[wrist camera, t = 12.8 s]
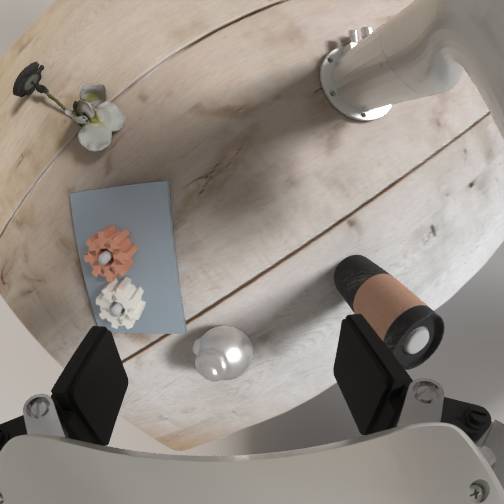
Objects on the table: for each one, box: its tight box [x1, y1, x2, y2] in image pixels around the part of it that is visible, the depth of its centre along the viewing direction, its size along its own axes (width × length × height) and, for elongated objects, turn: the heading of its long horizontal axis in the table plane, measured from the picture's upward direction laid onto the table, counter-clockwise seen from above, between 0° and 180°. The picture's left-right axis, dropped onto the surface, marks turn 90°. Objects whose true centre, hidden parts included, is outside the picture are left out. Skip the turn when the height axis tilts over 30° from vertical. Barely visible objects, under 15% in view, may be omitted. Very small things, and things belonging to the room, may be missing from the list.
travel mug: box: [334, 255, 444, 370], centre depth 34 cm, size 8×8×20 cm
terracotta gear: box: [84, 225, 138, 282], centre depth 36 cm, size 7×7×4 cm
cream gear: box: [96, 277, 146, 329], centre depth 38 cm, size 7×7×4 cm
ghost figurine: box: [193, 326, 253, 381], centre depth 41 cm, size 9×10×10 cm
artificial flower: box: [13, 62, 126, 151], centre depth 28 cm, size 9×22×10 cm, turn 49°
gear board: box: [70, 180, 186, 334], centre depth 37 cm, size 24×16×6 cm, turn 1°
